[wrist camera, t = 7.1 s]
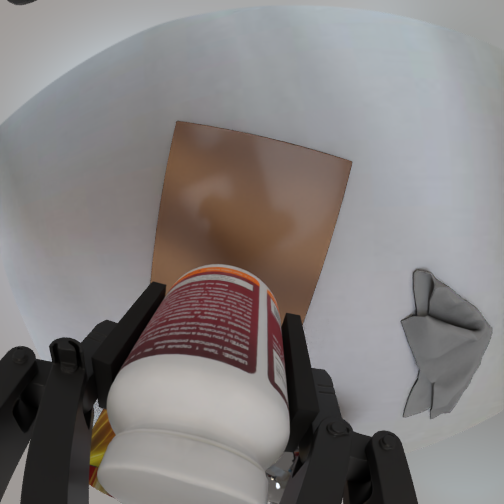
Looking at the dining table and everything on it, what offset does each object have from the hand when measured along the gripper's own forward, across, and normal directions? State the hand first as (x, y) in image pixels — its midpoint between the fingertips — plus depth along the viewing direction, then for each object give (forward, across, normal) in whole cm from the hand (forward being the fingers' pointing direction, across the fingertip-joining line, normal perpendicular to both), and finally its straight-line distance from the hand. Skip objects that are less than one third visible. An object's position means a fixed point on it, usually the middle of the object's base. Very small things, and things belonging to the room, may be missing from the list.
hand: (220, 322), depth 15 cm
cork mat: (+10, 0, 0) cm, 10 cm away
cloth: (+10, +27, -6) cm, 29 cm away
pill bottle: (+1, 0, 0) cm, 1 cm away
